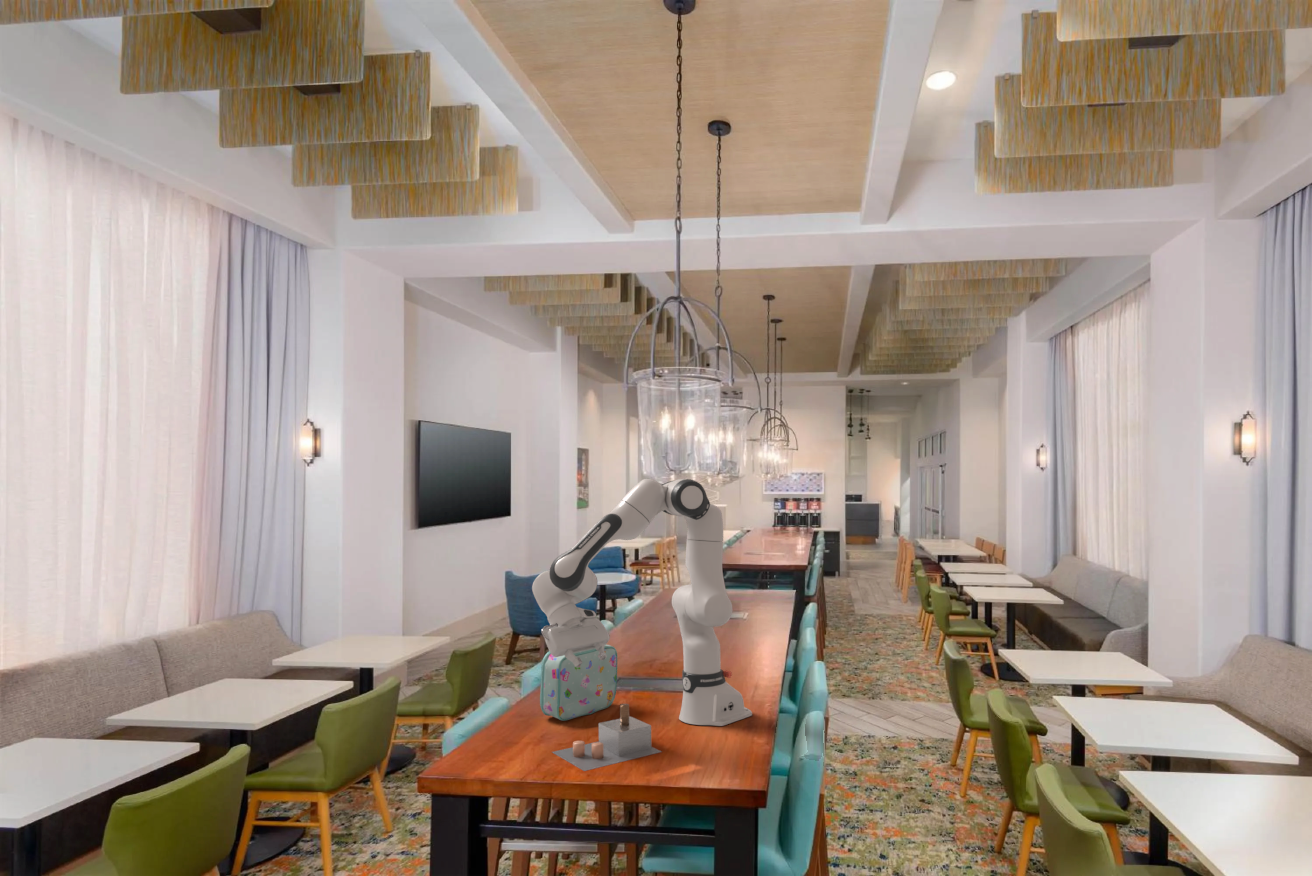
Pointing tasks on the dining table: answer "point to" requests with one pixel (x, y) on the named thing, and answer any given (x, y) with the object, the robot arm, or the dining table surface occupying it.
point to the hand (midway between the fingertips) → (591, 661)
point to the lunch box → (578, 683)
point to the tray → (599, 762)
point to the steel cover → (625, 734)
